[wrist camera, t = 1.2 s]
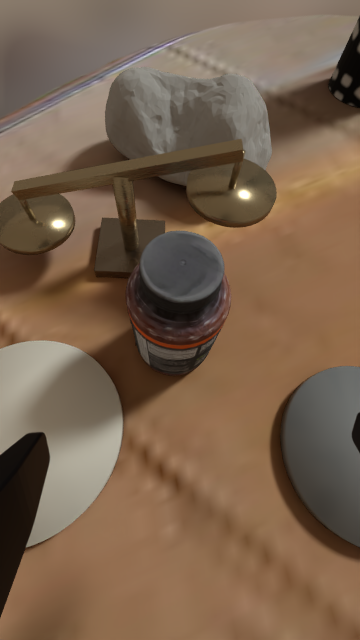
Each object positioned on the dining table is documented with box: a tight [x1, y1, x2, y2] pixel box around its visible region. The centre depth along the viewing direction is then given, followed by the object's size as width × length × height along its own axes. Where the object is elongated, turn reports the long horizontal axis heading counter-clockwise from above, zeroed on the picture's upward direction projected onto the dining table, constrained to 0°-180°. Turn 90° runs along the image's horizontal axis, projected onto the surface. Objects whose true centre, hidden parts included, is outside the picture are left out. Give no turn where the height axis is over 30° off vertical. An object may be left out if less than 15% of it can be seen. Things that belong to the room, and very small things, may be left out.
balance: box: [0, 139, 276, 278], centre depth 22 cm, size 6×22×11 cm, turn 90°
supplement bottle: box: [126, 231, 231, 375], centre depth 18 cm, size 6×6×11 cm
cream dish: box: [0, 341, 124, 547], centre depth 19 cm, size 13×13×1 cm
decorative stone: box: [105, 67, 272, 186], centre depth 29 cm, size 17×10×10 cm
